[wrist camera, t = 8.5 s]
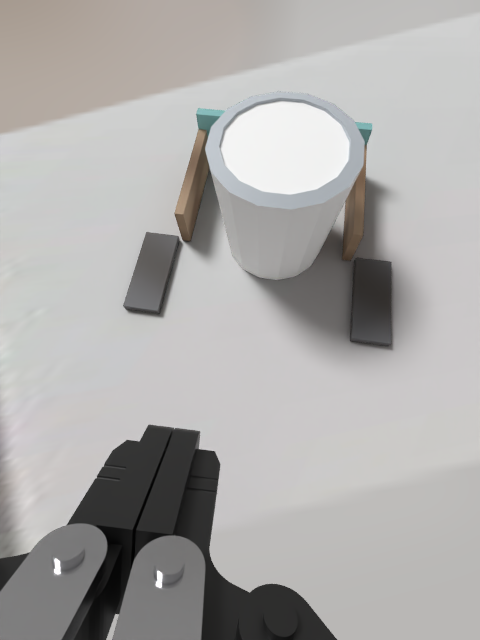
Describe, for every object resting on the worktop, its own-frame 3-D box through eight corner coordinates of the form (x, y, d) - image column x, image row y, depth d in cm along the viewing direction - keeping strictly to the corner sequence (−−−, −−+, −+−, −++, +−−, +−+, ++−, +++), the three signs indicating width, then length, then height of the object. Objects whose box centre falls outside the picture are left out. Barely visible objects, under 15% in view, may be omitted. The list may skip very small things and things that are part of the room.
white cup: (218, 291, 20) (203, 210, 14) (218, 197, 23) (205, 92, 16) (338, 287, 20) (379, 203, 14) (323, 192, 23) (353, 85, 16)
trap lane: (388, 346, 19) (408, 329, 16) (125, 308, 20) (109, 288, 18) (389, 180, 23) (404, 148, 21) (172, 158, 24) (164, 126, 22)
